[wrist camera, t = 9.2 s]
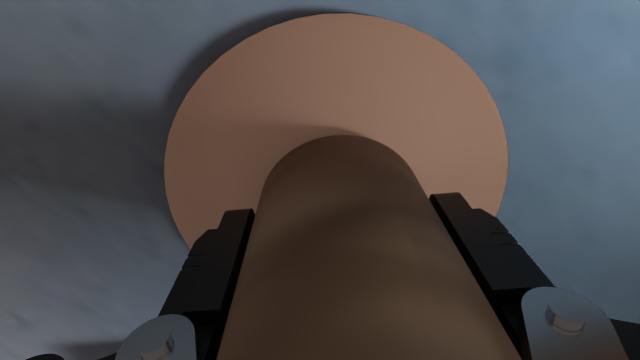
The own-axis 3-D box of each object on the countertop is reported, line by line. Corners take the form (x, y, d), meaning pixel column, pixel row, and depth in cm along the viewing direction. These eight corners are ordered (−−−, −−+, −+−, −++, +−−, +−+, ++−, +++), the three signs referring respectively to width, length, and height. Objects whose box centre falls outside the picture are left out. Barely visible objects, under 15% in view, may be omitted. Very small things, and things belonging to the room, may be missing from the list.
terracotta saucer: (526, -7, 9) (544, -7, 8) (473, 290, 14) (481, 305, 14) (124, 31, 9) (108, 34, 9) (215, 309, 15) (210, 325, 14)
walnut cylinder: (425, 127, 9) (643, 375, 3) (416, 264, 12) (530, 560, 6) (246, 142, 9) (120, 410, 3) (272, 275, 12) (228, 577, 6)
